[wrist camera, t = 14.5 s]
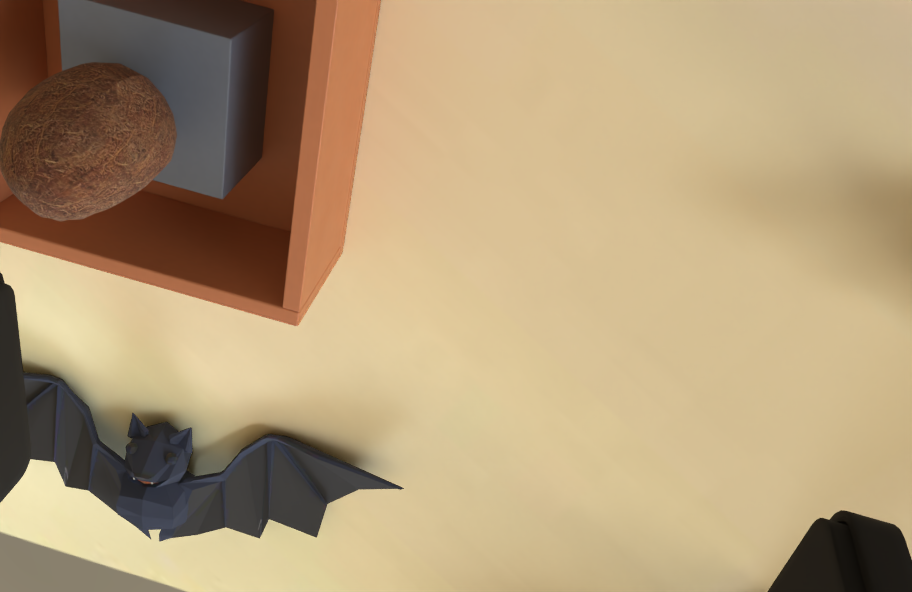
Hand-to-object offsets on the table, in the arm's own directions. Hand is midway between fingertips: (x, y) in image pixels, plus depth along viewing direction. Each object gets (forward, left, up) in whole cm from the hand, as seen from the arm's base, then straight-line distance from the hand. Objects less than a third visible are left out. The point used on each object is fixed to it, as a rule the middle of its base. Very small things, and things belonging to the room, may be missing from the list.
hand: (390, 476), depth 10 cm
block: (+8, -15, -28) cm, 33 cm away
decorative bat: (+34, -16, -28) cm, 47 cm away
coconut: (+8, -15, -23) cm, 29 cm away
